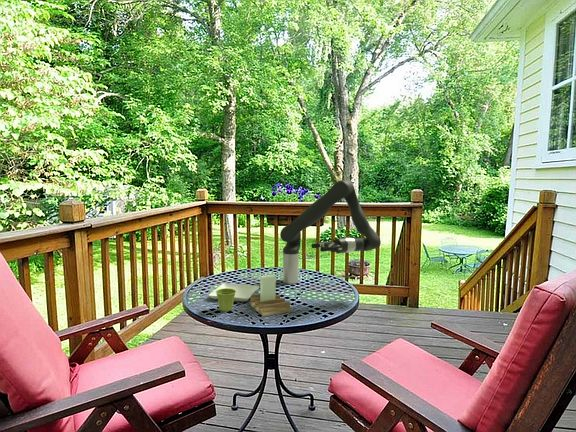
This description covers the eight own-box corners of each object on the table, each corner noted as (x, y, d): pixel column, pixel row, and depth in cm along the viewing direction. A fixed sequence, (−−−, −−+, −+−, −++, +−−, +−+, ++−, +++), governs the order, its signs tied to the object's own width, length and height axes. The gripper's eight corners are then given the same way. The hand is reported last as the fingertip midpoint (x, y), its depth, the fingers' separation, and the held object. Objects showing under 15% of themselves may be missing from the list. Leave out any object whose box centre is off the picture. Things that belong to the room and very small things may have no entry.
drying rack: (249, 304, 184) (249, 295, 183) (275, 300, 190) (276, 291, 189) (262, 316, 169) (262, 306, 168) (291, 311, 175) (291, 302, 174)
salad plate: (248, 304, 184) (248, 297, 184) (207, 301, 188) (207, 294, 188) (260, 291, 205) (260, 285, 204) (223, 288, 209) (223, 282, 208)
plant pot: (237, 305, 181) (237, 288, 180) (235, 313, 172) (235, 294, 171) (217, 305, 181) (217, 288, 180) (214, 313, 172) (214, 294, 171)
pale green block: (260, 305, 178) (260, 276, 177) (272, 303, 181) (273, 274, 179) (262, 307, 176) (262, 277, 174) (275, 305, 179) (275, 276, 177)
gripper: (336, 235, 195) (309, 237, 187) (353, 240, 182) (324, 242, 175) (336, 250, 195) (308, 252, 188) (352, 255, 183) (323, 258, 176)
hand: (316, 247), depth 182 cm, fingers open, 8 cm apart
